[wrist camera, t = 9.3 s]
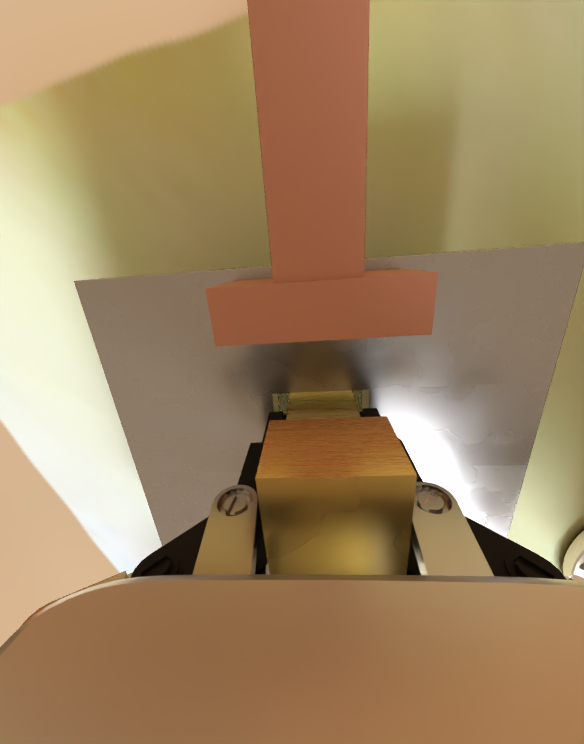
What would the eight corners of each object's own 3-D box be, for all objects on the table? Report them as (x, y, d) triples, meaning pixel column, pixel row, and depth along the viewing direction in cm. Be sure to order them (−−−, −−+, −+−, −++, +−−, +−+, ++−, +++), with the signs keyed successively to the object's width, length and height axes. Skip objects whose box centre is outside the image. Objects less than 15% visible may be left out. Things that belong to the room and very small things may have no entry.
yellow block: (351, 346, 12) (417, 475, 5) (350, 473, 15) (394, 689, 7) (286, 350, 13) (254, 478, 5) (296, 474, 15) (285, 685, 7)
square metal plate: (474, 249, 16) (869, 225, 5) (433, 526, 23) (547, 768, 12) (162, 272, 17) (-107, 297, 6) (219, 527, 25) (147, 747, 14)
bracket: (416, 34, 8) (477, -92, 5) (398, 314, 11) (431, 334, 8) (201, 62, 8) (147, -40, 5) (238, 324, 11) (215, 346, 8)
